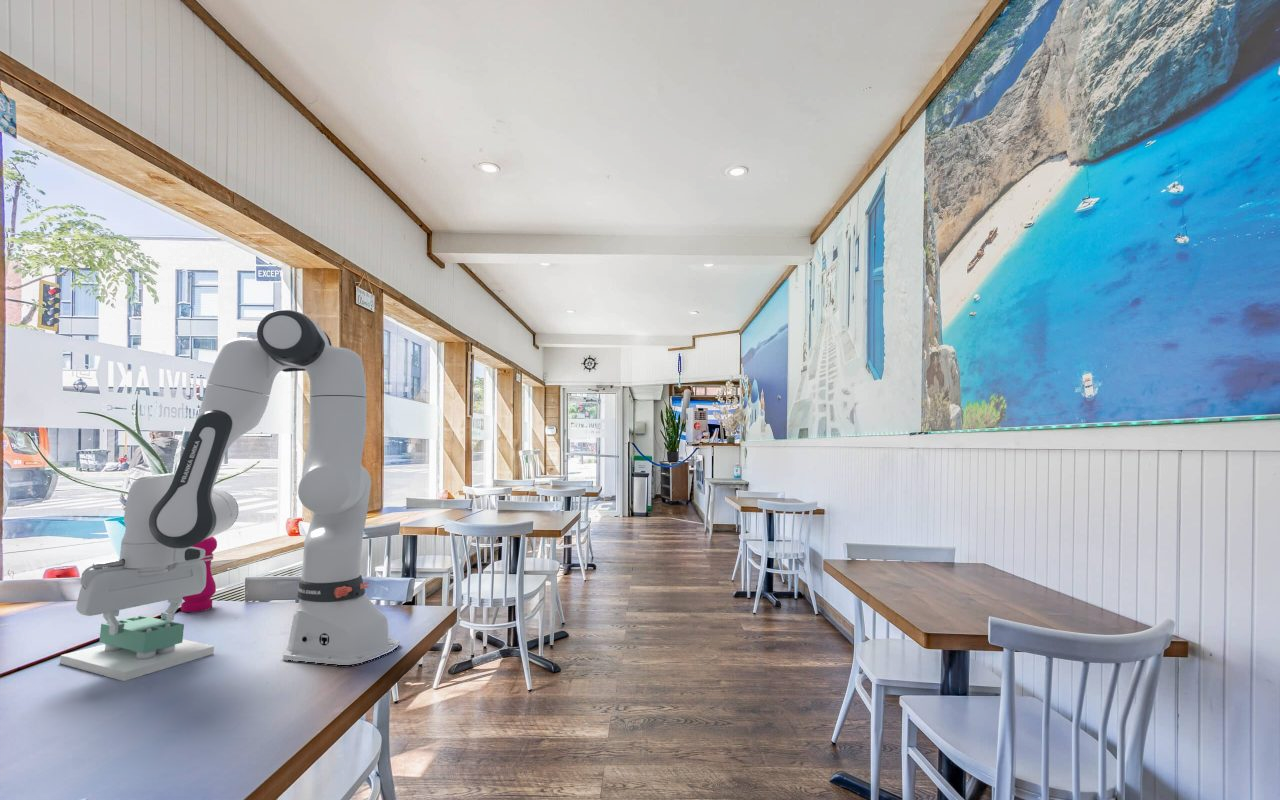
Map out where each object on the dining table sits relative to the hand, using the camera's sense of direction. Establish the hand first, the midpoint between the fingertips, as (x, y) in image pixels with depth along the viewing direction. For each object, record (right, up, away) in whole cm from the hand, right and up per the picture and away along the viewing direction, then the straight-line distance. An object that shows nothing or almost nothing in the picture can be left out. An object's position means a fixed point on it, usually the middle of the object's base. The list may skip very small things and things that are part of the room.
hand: (142, 627), depth 111 cm
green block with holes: (0, -3, 0) cm, 3 cm away
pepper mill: (-15, -9, +33) cm, 37 cm away
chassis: (0, -6, -1) cm, 6 cm away
